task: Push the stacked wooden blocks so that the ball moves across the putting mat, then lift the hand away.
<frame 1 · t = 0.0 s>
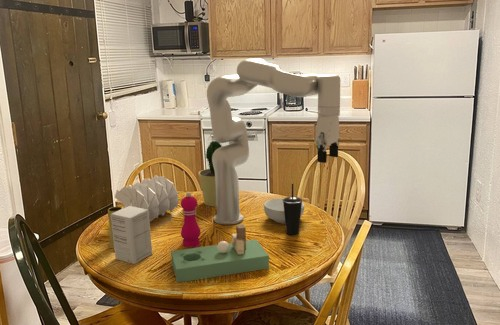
hand: (327, 159, 166), 31 cm above the table, tool pointing down, fingers open, 9 cm apart
supplement box: (133, 257, 165), on the table
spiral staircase: (151, 218, 201), on the table
cereal bowl: (284, 220, 196), on the table
stacked wooden blocks: (239, 237, 156), point 9 cm above the table, slide at 0.0 cm
putting mat: (219, 265, 156), on the table
pepper mill: (191, 244, 174), on the table
potted cactus: (216, 202, 220), on the table
ball: (223, 247, 155), point 6 cm above the table, touching putting mat
drinking cup: (292, 233, 181), on the table
vase: (118, 245, 174), on the table
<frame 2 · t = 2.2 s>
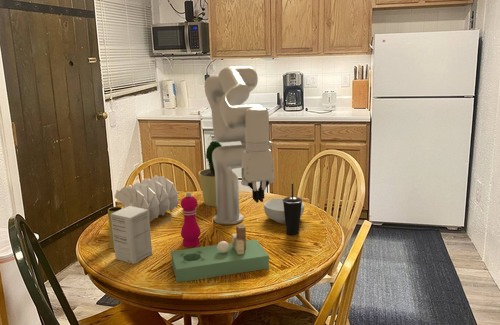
hand: (258, 200, 154), 21 cm above the table, tool pointing down, fingers closed
nothing on the table moved.
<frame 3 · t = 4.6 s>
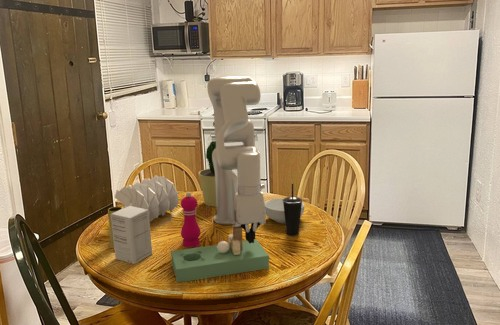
hand: (250, 241, 157), 7 cm above the table, tool pointing down, fingers closed
stacked wooden blocks: (236, 238, 155), point 9 cm above the table, slide at 1.2 cm, touching gripper
everything else where it was.
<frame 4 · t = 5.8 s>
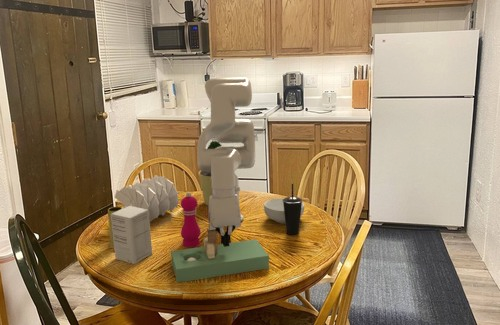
hand: (225, 245, 155), 7 cm above the table, tool pointing down, fingers closed
stacked wooden blocks: (210, 241, 153), point 9 cm above the table, slide at 9.8 cm, touching gripper
ball: (191, 263, 153), point 2 cm above the table, tilted 32°
everything else where it was.
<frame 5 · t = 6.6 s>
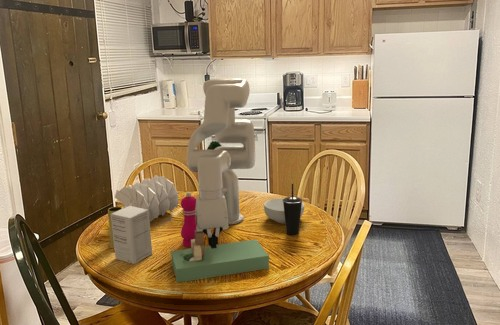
hand: (213, 246, 154), 7 cm above the table, tool pointing down, fingers closed
stacked wooden blocks: (198, 243, 152), point 9 cm above the table, slide at 14.0 cm, touching gripper
ball: (194, 263, 153), point 2 cm above the table, tilted 51°, touching putting mat
everything else where it was.
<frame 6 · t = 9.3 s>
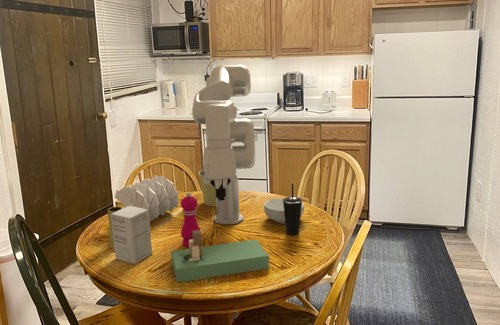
hand: (220, 199, 151), 23 cm above the table, tool pointing down, fingers closed
stacked wooden blocks: (196, 243, 152), point 9 cm above the table, slide at 14.6 cm
ball: (193, 263, 153), point 2 cm above the table, tilted 38°, touching putting mat
everything else where it was.
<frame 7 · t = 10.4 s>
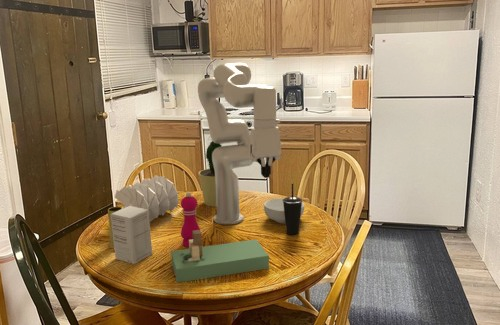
hand: (265, 176, 161), 27 cm above the table, tool pointing down, fingers closed
ball: (192, 263, 153), point 2 cm above the table, tilted 32°, touching putting mat
everything else where it was.
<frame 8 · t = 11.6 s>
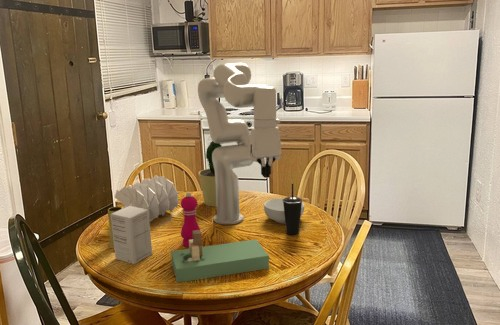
hand: (266, 176, 161), 27 cm above the table, tool pointing down, fingers closed
ball: (191, 263, 153), point 2 cm above the table, tilted 26°, touching putting mat
everything else where it was.
at the end: ball 0.1 cm from the target spot on the putting mat, point 2.2 cm above the putting mat's base; ball moved 11.5 cm from its start; stacked wooden blocks slide at 14.6 cm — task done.
